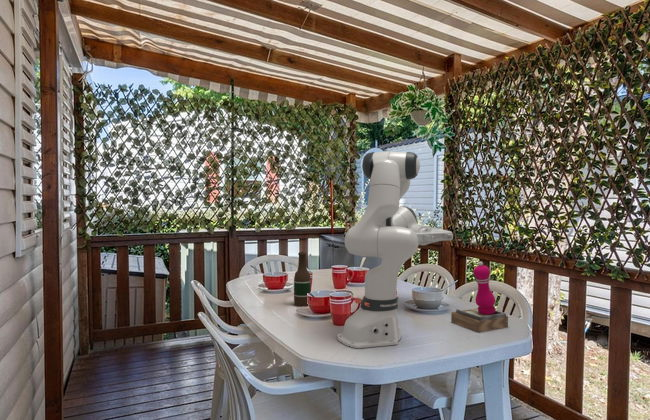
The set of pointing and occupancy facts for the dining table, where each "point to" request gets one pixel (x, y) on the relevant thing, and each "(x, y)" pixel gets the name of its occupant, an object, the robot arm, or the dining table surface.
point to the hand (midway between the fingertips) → (442, 237)
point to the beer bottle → (301, 282)
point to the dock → (479, 320)
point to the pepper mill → (484, 290)
